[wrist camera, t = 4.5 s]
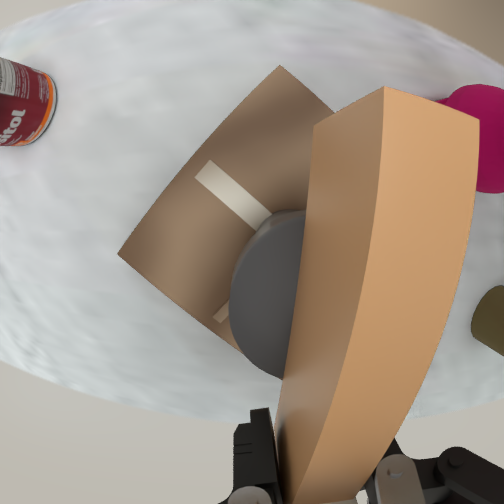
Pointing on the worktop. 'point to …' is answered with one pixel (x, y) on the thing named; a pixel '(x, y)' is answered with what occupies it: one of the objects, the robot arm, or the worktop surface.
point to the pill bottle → (24, 103)
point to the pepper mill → (484, 131)
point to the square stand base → (228, 198)
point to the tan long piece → (358, 285)
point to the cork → (490, 320)
